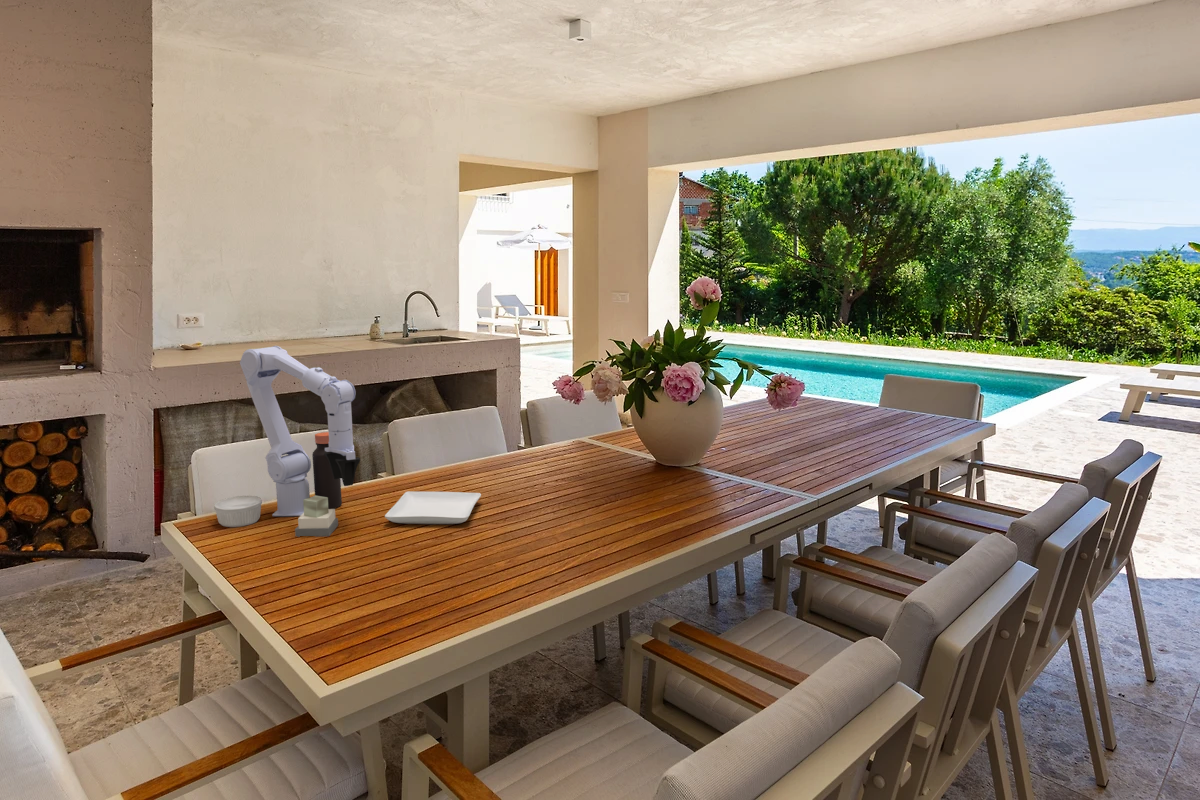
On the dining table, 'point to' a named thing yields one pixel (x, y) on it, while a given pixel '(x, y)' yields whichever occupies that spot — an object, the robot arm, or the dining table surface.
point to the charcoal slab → (317, 530)
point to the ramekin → (238, 510)
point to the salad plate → (433, 507)
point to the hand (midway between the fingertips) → (343, 481)
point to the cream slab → (317, 520)
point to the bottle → (325, 473)
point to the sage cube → (315, 506)
